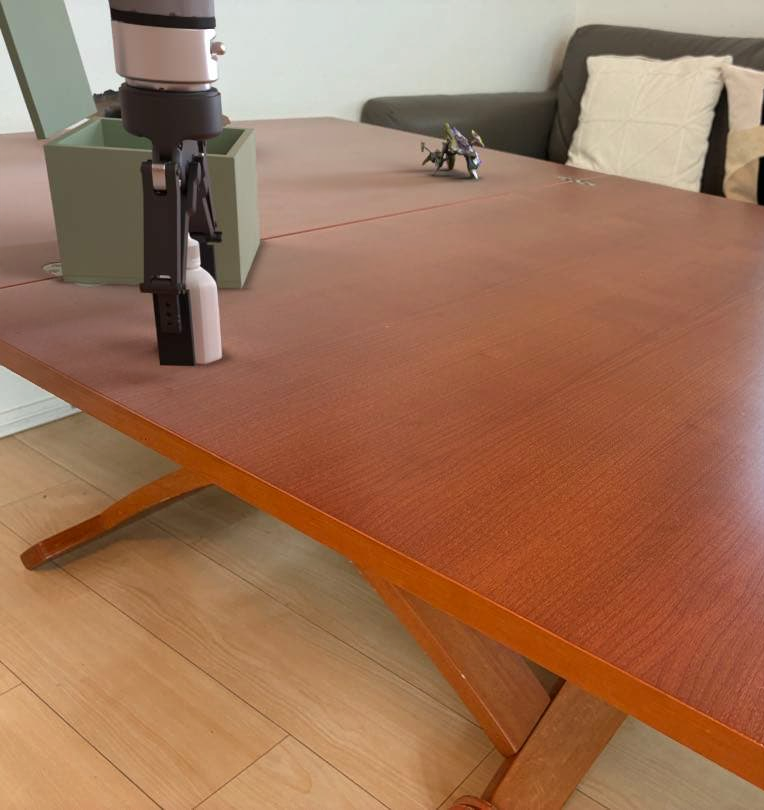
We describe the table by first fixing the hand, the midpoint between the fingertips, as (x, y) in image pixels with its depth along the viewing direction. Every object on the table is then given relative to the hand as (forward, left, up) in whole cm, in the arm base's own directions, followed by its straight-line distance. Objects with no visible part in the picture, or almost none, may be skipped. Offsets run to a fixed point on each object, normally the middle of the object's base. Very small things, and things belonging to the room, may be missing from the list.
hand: (191, 335), depth 77 cm
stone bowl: (-21, +90, -2) cm, 92 cm away
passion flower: (+31, +85, -2) cm, 91 cm away
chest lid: (-17, +27, +22) cm, 39 cm away
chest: (-7, +27, -2) cm, 28 cm away
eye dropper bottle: (0, 0, -2) cm, 2 cm away
